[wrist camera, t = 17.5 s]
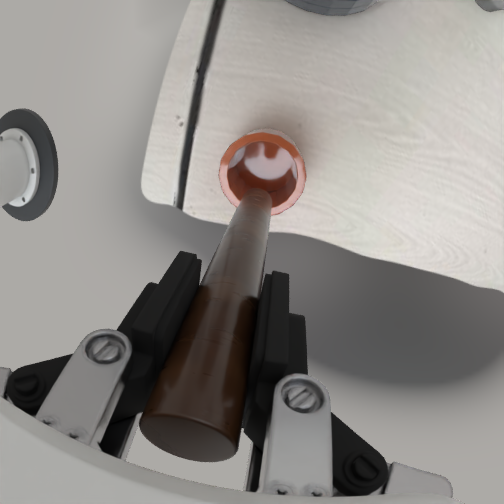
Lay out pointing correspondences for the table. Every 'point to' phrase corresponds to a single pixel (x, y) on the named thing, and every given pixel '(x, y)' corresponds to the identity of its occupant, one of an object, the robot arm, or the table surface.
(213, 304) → the stick
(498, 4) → the cup
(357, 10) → the bowl
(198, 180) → the table surface
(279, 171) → the holder
